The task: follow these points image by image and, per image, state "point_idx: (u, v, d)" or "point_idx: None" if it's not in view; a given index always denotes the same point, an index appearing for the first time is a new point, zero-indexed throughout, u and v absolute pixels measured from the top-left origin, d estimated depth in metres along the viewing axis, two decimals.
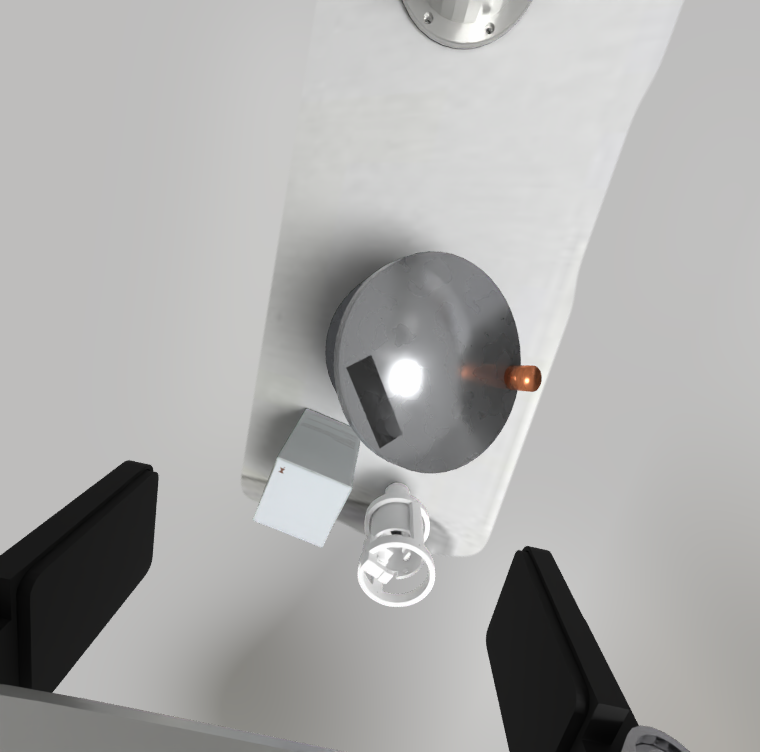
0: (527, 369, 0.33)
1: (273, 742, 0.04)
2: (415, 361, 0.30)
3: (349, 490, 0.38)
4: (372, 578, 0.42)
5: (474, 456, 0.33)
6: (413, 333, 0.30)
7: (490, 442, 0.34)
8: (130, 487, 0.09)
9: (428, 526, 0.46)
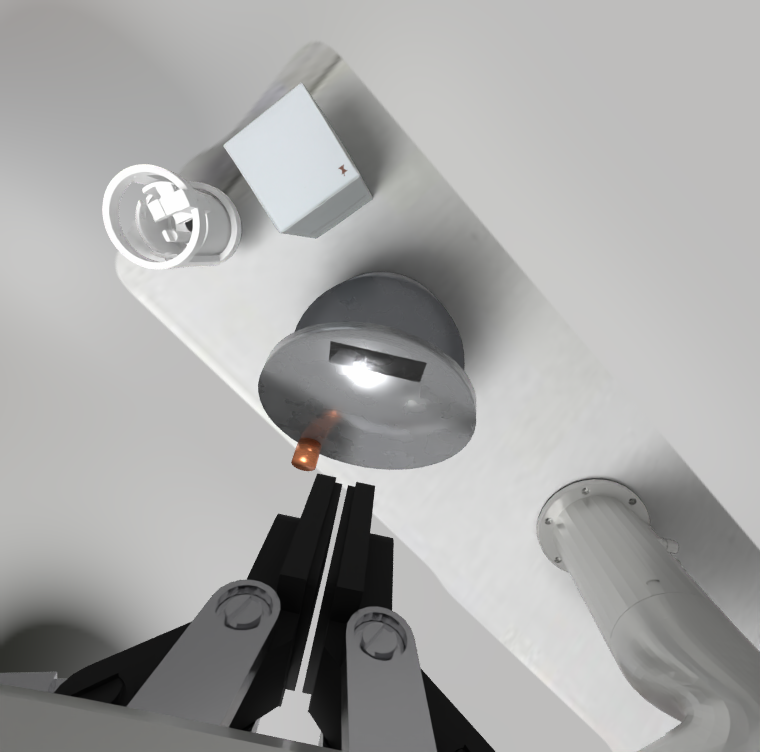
0: (314, 465, 0.35)
1: (273, 742, 0.04)
2: (384, 402, 0.30)
3: (278, 228, 0.32)
4: (152, 174, 0.32)
5: (260, 391, 0.31)
6: (408, 413, 0.30)
7: (264, 406, 0.33)
8: (333, 498, 0.11)
9: None
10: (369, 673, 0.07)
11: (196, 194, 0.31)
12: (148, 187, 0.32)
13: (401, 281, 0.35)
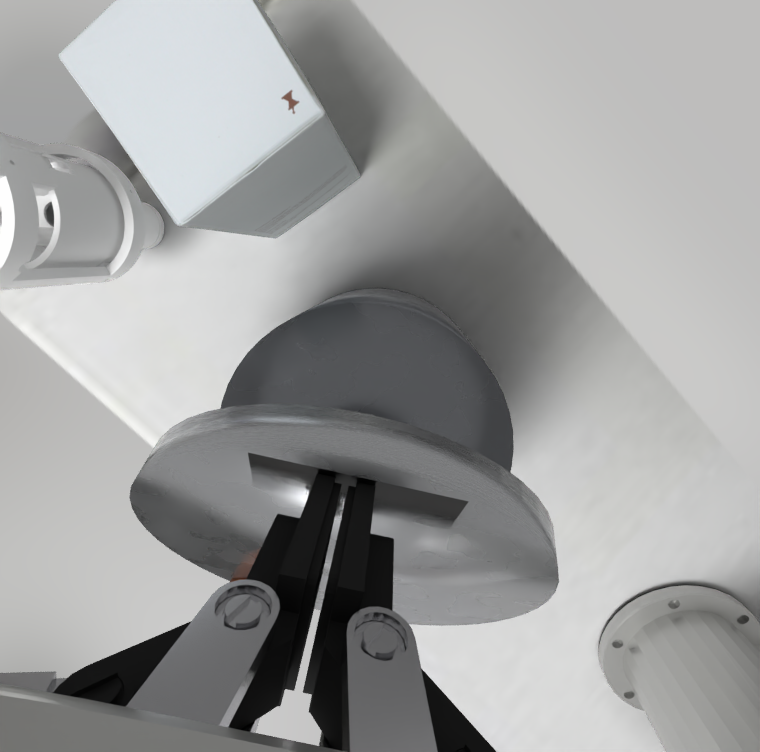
0: None
1: (273, 742, 0.04)
2: None
3: (175, 218, 0.17)
4: None
5: (142, 518, 0.17)
6: (421, 568, 0.16)
7: (158, 537, 0.18)
8: (333, 498, 0.11)
9: None
10: (369, 673, 0.07)
11: (12, 152, 0.16)
12: None
13: (405, 311, 0.20)
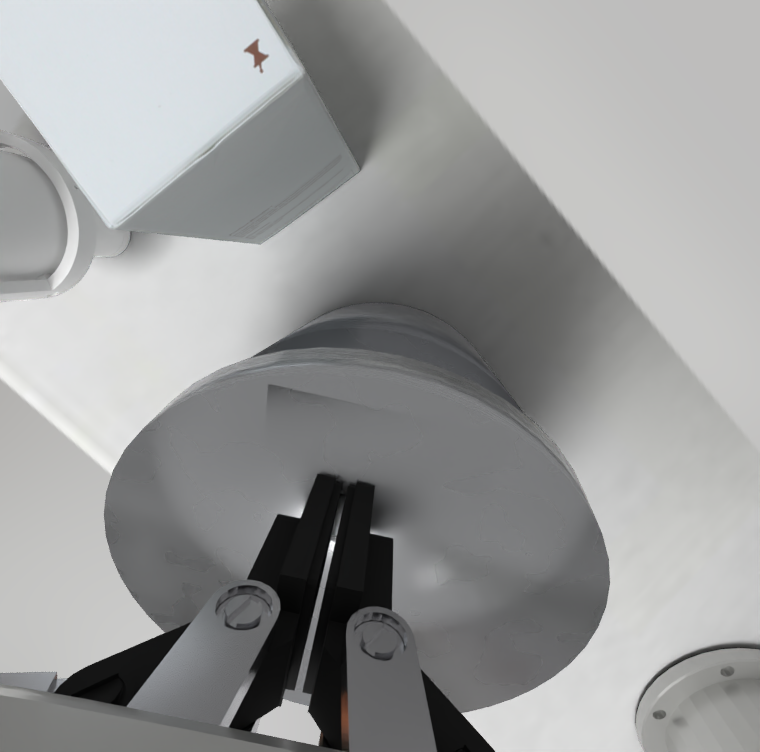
0: None
1: (273, 742, 0.04)
2: None
3: (105, 218, 0.13)
4: None
5: (111, 534, 0.14)
6: (446, 582, 0.13)
7: (122, 572, 0.15)
8: (333, 498, 0.11)
9: None
10: (369, 673, 0.07)
11: None
12: None
13: (414, 338, 0.15)
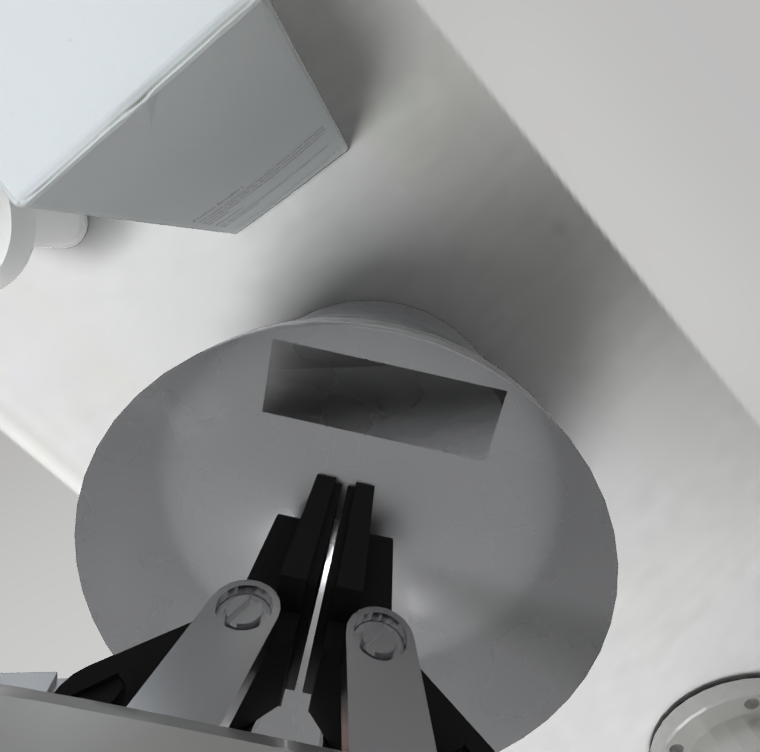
0: None
1: (273, 742, 0.04)
2: None
3: (9, 192, 0.10)
4: None
5: (81, 532, 0.13)
6: (448, 574, 0.12)
7: (85, 584, 0.13)
8: (333, 498, 0.11)
9: None
10: (369, 673, 0.07)
11: None
12: None
13: None
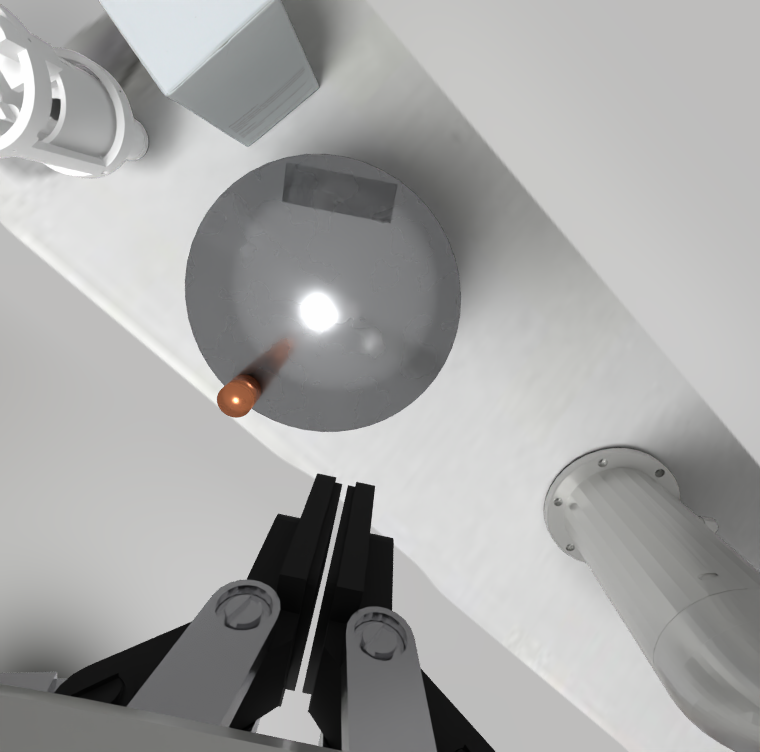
0: (249, 400, 0.25)
1: (273, 742, 0.04)
2: (348, 272, 0.24)
3: (163, 88, 0.21)
4: None
5: (188, 278, 0.25)
6: (378, 290, 0.25)
7: (189, 311, 0.25)
8: (333, 498, 0.11)
9: (52, 166, 0.28)
10: (369, 673, 0.07)
11: (28, 32, 0.20)
12: None
13: None
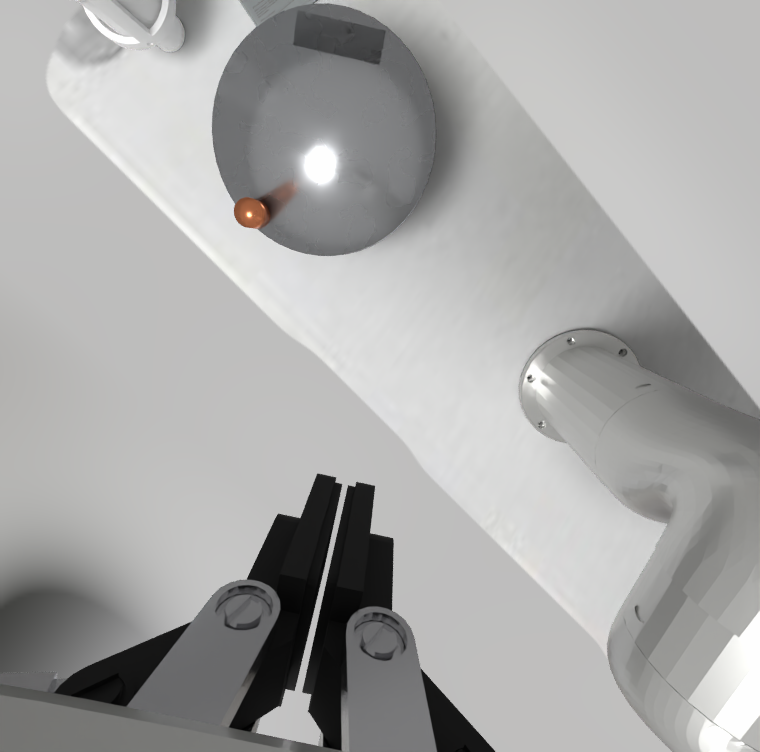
0: (260, 212, 0.30)
1: (273, 742, 0.04)
2: (344, 108, 0.30)
3: None
4: None
5: (215, 112, 0.30)
6: (368, 125, 0.30)
7: (215, 142, 0.31)
8: (333, 498, 0.11)
9: (108, 35, 0.34)
10: (369, 673, 0.07)
11: None
12: None
13: None
